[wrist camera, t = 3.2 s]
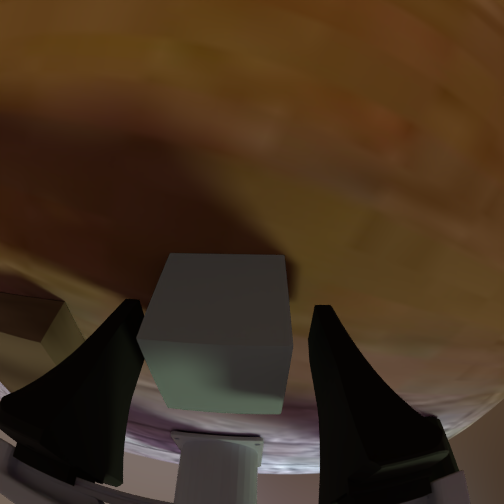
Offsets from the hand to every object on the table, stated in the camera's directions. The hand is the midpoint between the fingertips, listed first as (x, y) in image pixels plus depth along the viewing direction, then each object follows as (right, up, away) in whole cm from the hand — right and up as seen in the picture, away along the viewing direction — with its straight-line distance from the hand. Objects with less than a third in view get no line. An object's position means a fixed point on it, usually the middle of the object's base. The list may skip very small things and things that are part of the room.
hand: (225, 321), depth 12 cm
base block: (-14, -4, +5) cm, 15 cm away
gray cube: (0, +1, +1) cm, 2 cm away
